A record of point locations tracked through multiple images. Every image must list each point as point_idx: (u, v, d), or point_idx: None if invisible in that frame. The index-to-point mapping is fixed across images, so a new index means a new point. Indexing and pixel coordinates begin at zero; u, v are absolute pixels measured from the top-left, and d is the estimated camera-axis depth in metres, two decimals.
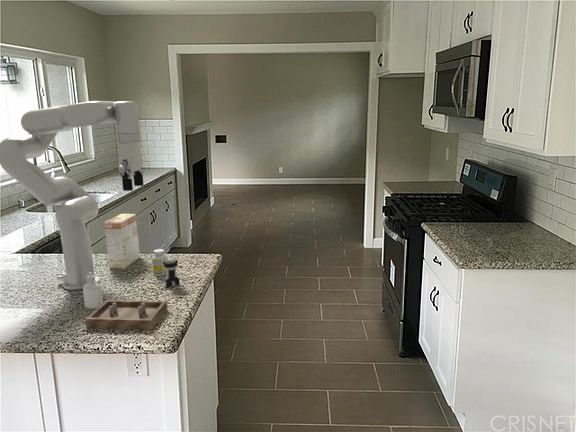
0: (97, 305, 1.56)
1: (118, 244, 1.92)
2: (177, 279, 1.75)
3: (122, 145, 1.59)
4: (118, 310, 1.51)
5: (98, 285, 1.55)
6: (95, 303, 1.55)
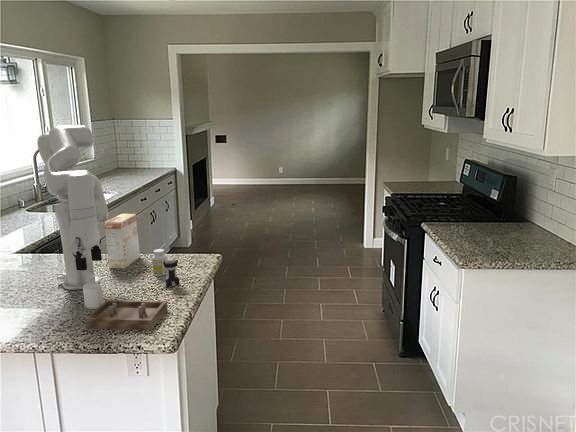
0: (97, 305, 1.56)
1: (118, 244, 1.92)
2: (177, 279, 1.75)
3: (74, 222, 1.46)
4: (118, 310, 1.51)
5: (98, 285, 1.55)
6: (95, 303, 1.55)
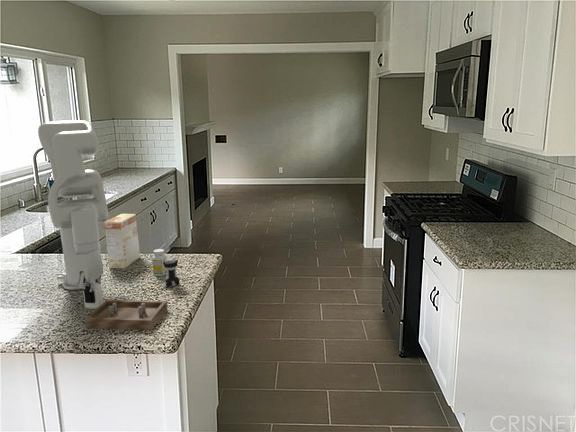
0: (97, 305, 1.56)
1: (118, 244, 1.92)
2: (177, 279, 1.75)
3: (78, 256, 1.49)
4: (118, 310, 1.51)
5: (98, 285, 1.55)
6: (95, 303, 1.55)
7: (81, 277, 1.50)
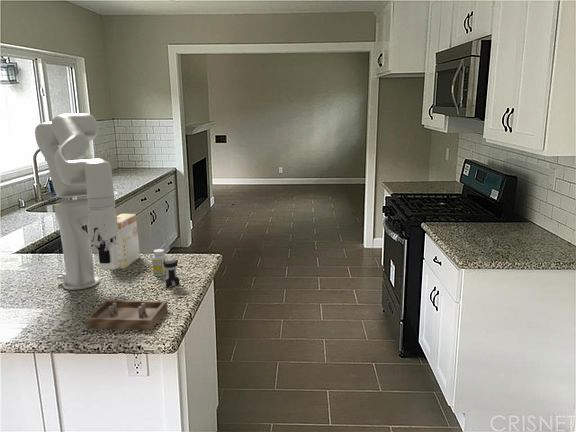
0: (112, 266, 1.46)
1: (118, 244, 1.92)
2: (177, 279, 1.75)
3: (93, 212, 1.40)
4: (118, 310, 1.51)
5: (113, 244, 1.46)
6: (110, 263, 1.46)
7: (95, 234, 1.41)
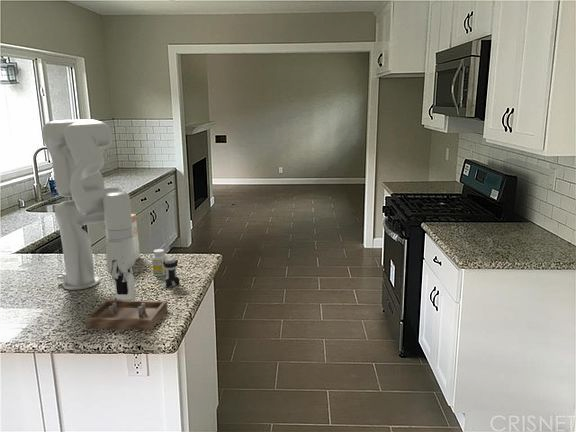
0: (130, 296, 1.45)
1: None
2: (177, 279, 1.75)
3: (111, 244, 1.38)
4: (118, 310, 1.51)
5: (131, 275, 1.45)
6: (128, 294, 1.45)
7: (114, 266, 1.39)
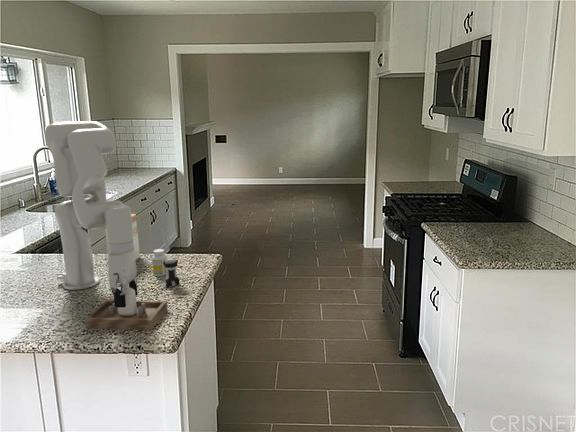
0: (131, 311, 1.46)
1: None
2: (177, 279, 1.75)
3: (113, 257, 1.39)
4: None
5: (132, 290, 1.46)
6: (129, 309, 1.46)
7: None
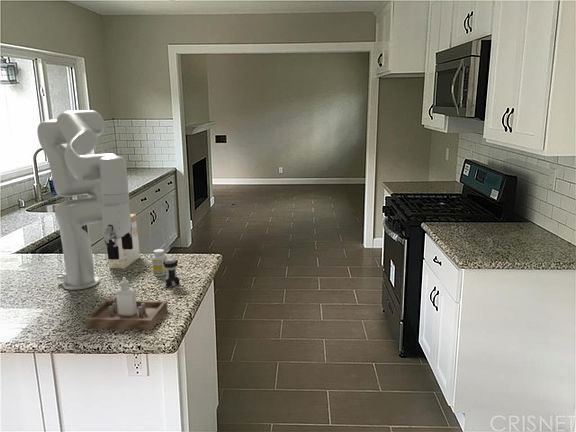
0: (131, 312, 1.46)
1: (118, 244, 1.92)
2: (177, 279, 1.75)
3: (107, 208, 1.37)
4: None
5: (132, 291, 1.46)
6: (129, 310, 1.46)
7: None
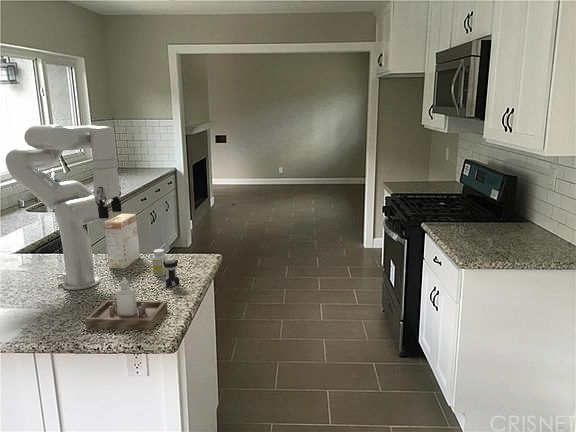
0: (131, 312, 1.46)
1: (118, 244, 1.92)
2: (177, 279, 1.75)
3: (97, 172, 1.55)
4: None
5: (132, 291, 1.46)
6: (129, 310, 1.46)
7: None
